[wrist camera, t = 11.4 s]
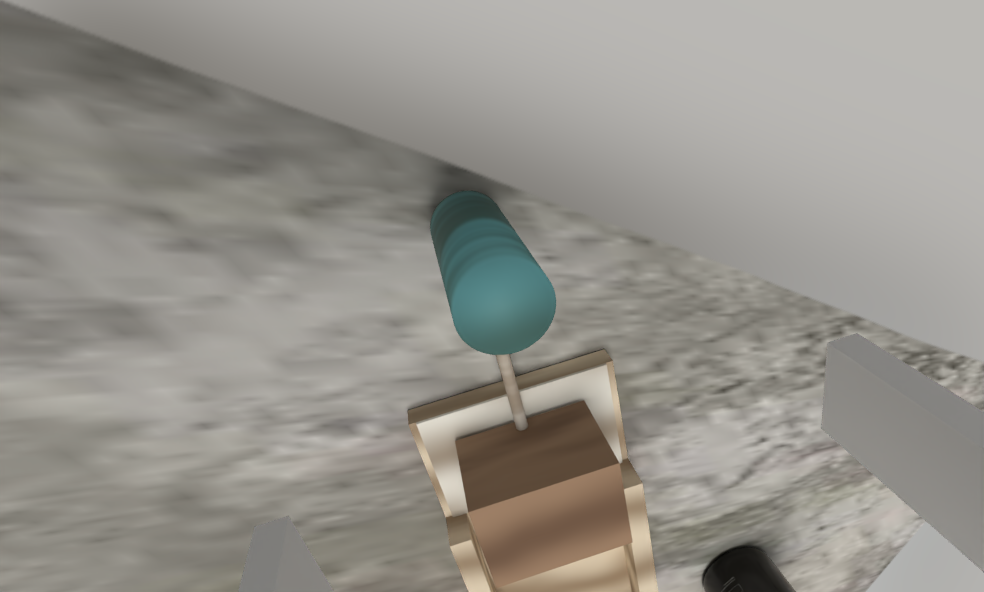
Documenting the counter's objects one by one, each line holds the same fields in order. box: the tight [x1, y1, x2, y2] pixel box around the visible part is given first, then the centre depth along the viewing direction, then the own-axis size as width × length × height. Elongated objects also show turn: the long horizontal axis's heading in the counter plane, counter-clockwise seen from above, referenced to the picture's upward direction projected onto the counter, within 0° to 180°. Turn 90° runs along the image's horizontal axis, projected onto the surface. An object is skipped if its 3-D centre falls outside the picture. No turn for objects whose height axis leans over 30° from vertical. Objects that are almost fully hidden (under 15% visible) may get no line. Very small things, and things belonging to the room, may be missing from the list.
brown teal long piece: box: [430, 191, 633, 588], centre depth 29 cm, size 23×9×10 cm, turn 13°
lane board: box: [408, 349, 658, 592], centre depth 40 cm, size 26×14×6 cm, turn 13°
